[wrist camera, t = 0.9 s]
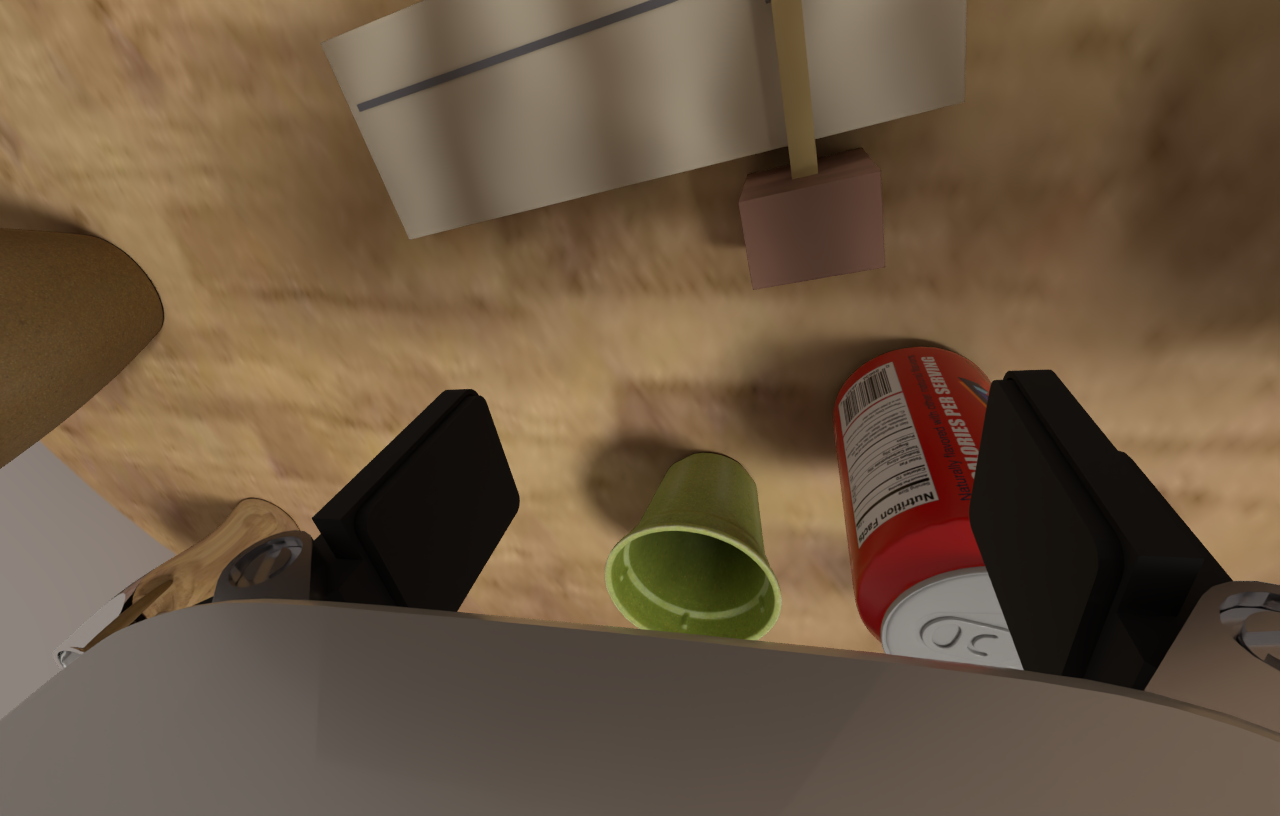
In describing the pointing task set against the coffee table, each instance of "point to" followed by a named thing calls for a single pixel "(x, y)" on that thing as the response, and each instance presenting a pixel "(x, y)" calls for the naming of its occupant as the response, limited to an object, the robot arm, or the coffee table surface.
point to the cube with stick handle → (809, 188)
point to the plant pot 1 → (64, 327)
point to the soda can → (918, 506)
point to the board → (616, 91)
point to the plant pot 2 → (697, 556)
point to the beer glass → (179, 577)
